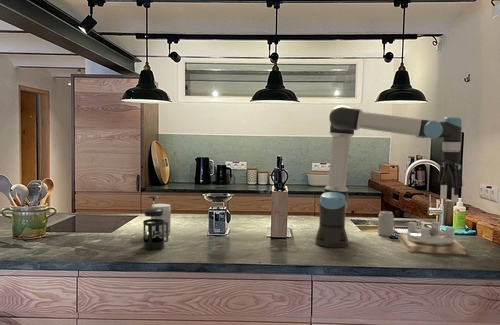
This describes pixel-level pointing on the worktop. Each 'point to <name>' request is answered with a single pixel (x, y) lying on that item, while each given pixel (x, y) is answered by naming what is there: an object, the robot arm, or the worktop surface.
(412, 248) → the base plate
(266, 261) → the worktop surface
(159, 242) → the french press
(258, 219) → the worktop surface
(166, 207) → the supplement tub
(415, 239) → the ring nut
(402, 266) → the worktop surface
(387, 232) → the can
